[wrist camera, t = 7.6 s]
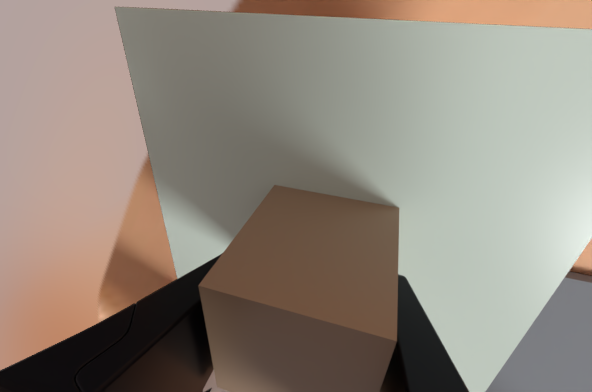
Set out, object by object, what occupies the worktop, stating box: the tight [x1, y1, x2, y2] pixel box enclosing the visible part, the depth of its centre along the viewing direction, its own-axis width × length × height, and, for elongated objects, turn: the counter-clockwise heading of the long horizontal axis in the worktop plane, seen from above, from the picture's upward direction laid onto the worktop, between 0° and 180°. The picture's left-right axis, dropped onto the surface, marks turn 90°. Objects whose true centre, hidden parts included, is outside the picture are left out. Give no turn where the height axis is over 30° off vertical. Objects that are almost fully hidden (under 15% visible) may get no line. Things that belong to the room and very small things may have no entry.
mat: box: [485, 271, 592, 392], centre depth 17 cm, size 15×15×1 cm
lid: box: [115, 7, 592, 392], centre depth 8 cm, size 12×12×5 cm
